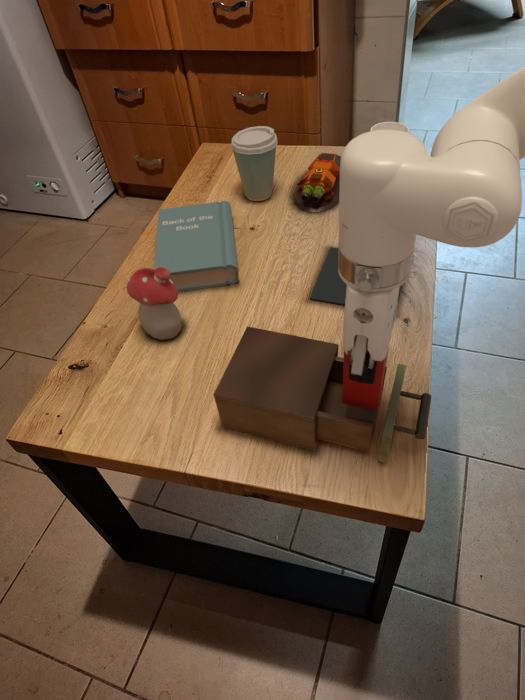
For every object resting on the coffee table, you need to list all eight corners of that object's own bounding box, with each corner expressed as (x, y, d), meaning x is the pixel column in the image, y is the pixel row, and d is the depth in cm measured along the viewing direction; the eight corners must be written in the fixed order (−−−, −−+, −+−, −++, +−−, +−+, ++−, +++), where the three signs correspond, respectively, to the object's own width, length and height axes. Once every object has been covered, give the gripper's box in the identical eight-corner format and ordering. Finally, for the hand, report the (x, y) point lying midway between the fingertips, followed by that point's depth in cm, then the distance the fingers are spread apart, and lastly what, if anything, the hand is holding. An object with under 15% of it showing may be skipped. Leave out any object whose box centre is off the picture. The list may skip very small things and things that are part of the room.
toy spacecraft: (353, 169, 121) (355, 144, 116) (337, 215, 109) (338, 189, 104) (305, 165, 124) (305, 141, 119) (284, 209, 112) (282, 184, 107)
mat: (408, 259, 97) (408, 258, 97) (394, 314, 88) (395, 312, 87) (330, 248, 101) (330, 246, 101) (309, 299, 92) (309, 297, 92)
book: (163, 228, 112) (158, 209, 108) (232, 219, 112) (229, 200, 108) (160, 294, 97) (153, 274, 93) (239, 283, 97) (236, 263, 93)
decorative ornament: (195, 327, 90) (177, 264, 78) (171, 350, 87) (149, 288, 75) (159, 309, 94) (137, 247, 82) (135, 330, 91) (109, 268, 79)
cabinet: (336, 379, 79) (338, 344, 73) (314, 451, 71) (314, 419, 64) (252, 361, 83) (247, 326, 77) (222, 427, 75) (213, 394, 68)
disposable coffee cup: (232, 205, 116) (223, 144, 104) (244, 181, 122) (236, 121, 111) (275, 207, 113) (271, 145, 102) (285, 183, 120) (281, 122, 109)
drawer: (428, 398, 74) (437, 371, 69) (417, 471, 67) (425, 446, 61) (315, 374, 79) (315, 346, 74) (293, 439, 72) (291, 413, 66)
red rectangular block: (382, 391, 69) (390, 334, 60) (377, 410, 67) (385, 355, 58) (347, 383, 71) (350, 327, 62) (342, 403, 69) (344, 347, 60)
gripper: (398, 319, 44) (382, 426, 58) (422, 216, 54) (403, 328, 68) (318, 306, 46) (321, 412, 60) (355, 209, 56) (350, 320, 70)
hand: (364, 367), depth 64 cm, fingers closed on red rectangular block, 3 cm apart
